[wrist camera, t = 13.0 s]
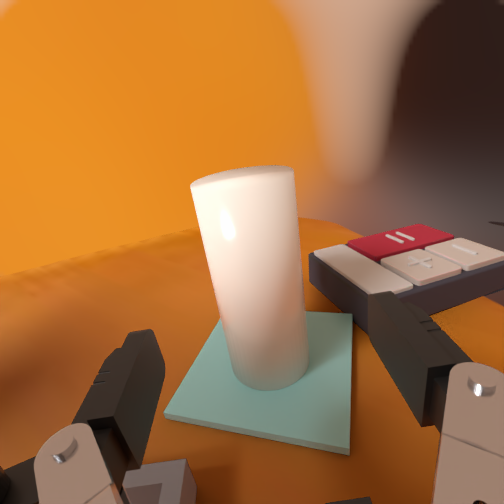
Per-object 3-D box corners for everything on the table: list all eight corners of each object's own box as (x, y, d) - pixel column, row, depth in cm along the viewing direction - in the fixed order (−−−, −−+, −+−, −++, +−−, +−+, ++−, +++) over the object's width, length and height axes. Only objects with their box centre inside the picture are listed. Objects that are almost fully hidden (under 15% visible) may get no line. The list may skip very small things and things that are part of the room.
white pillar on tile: (317, 384, 21) (302, 179, 15) (230, 396, 21) (182, 197, 15) (297, 312, 28) (281, 156, 22) (232, 321, 28) (200, 169, 23)
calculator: (520, 252, 27) (375, 296, 23) (508, 294, 29) (372, 341, 25) (419, 219, 36) (306, 246, 33) (415, 252, 38) (307, 281, 34)
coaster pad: (165, 418, 21) (163, 412, 21) (228, 311, 31) (227, 306, 31) (349, 455, 17) (349, 448, 17) (352, 319, 27) (352, 313, 27)
